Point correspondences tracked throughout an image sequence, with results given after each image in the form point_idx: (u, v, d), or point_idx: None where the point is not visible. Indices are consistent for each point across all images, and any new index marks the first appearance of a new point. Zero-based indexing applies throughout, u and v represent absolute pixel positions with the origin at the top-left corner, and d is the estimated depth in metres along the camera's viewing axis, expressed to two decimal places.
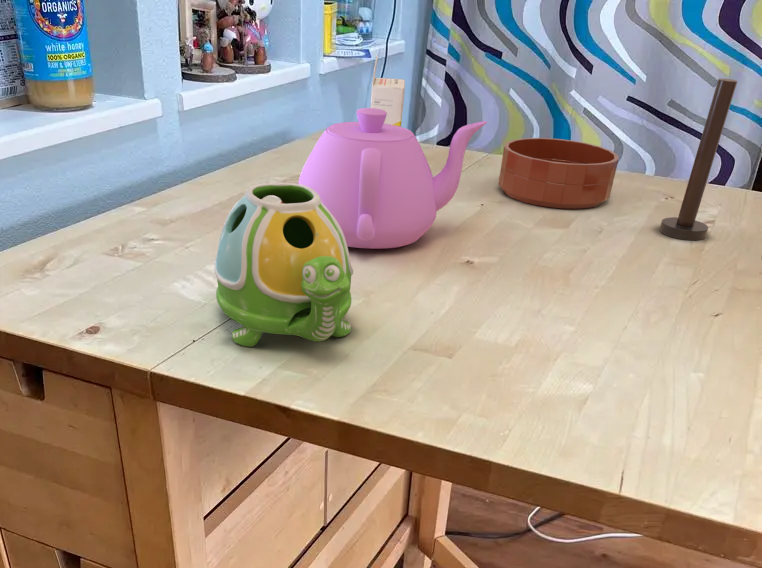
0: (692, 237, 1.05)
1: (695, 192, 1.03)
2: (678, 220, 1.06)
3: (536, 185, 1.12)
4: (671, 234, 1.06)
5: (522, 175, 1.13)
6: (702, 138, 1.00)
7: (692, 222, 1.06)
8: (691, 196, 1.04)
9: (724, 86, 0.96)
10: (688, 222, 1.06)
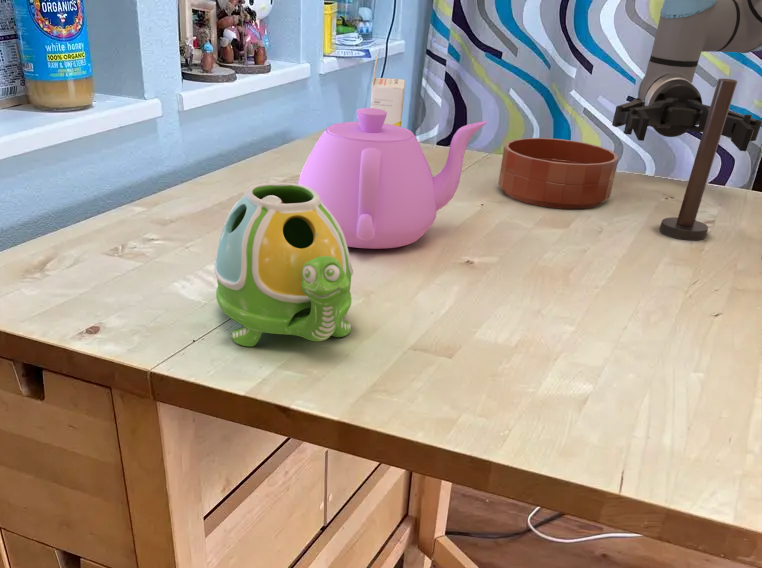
0: (692, 237, 1.05)
1: (695, 192, 1.03)
2: (678, 220, 1.06)
3: (536, 185, 1.12)
4: (671, 234, 1.06)
5: (522, 175, 1.13)
6: (702, 138, 1.00)
7: (692, 222, 1.06)
8: (691, 196, 1.04)
9: (724, 86, 0.96)
10: (688, 222, 1.06)
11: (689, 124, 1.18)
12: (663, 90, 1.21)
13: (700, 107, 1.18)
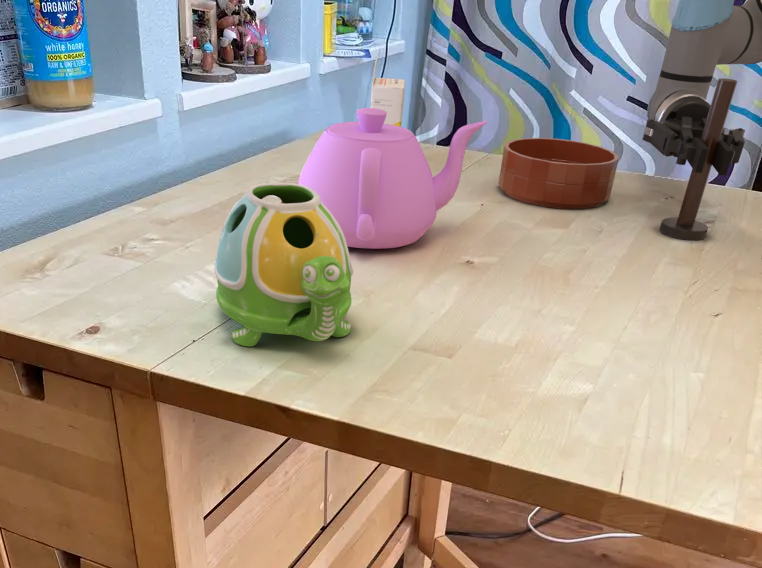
0: (692, 237, 1.05)
1: (695, 192, 1.03)
2: (678, 220, 1.06)
3: (536, 185, 1.12)
4: (671, 234, 1.06)
5: (522, 175, 1.13)
6: (702, 138, 1.00)
7: (692, 222, 1.06)
8: (691, 196, 1.04)
9: (724, 86, 0.96)
10: (688, 222, 1.06)
11: None
12: (675, 108, 1.11)
13: None
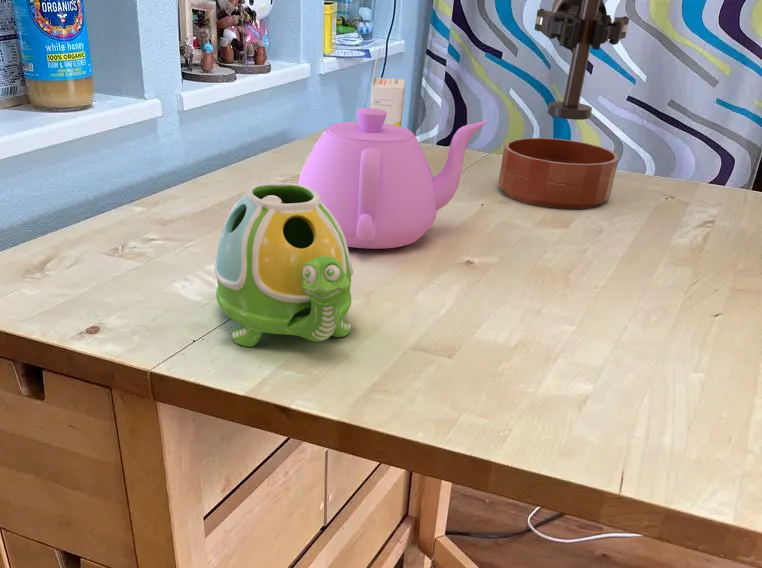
0: (575, 116, 1.10)
1: (576, 72, 1.09)
2: (563, 101, 1.12)
3: (536, 185, 1.12)
4: (556, 114, 1.11)
5: (522, 175, 1.13)
6: (580, 17, 1.06)
7: (576, 103, 1.11)
8: (573, 76, 1.09)
9: None
10: (572, 102, 1.11)
11: None
12: None
13: None
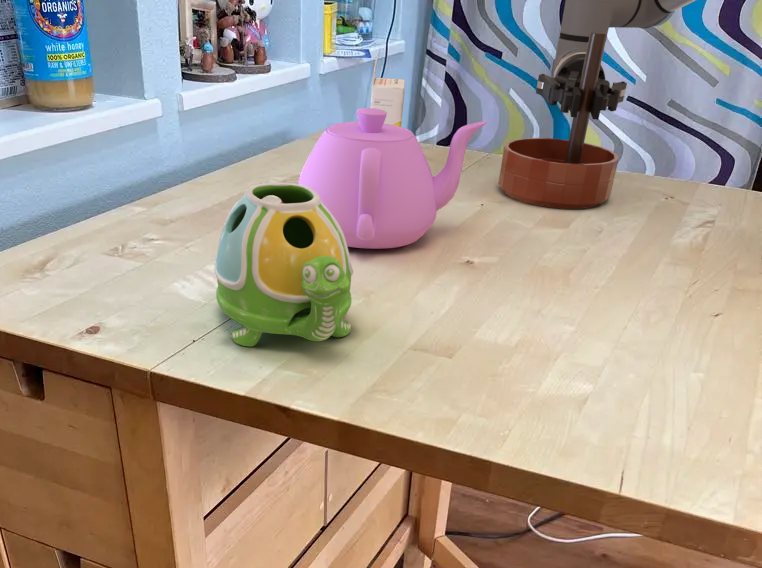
0: None
1: (576, 138, 1.14)
2: None
3: (536, 185, 1.12)
4: None
5: (522, 175, 1.13)
6: (580, 87, 1.11)
7: None
8: (573, 141, 1.14)
9: (595, 38, 1.06)
10: None
11: None
12: (566, 64, 1.22)
13: None
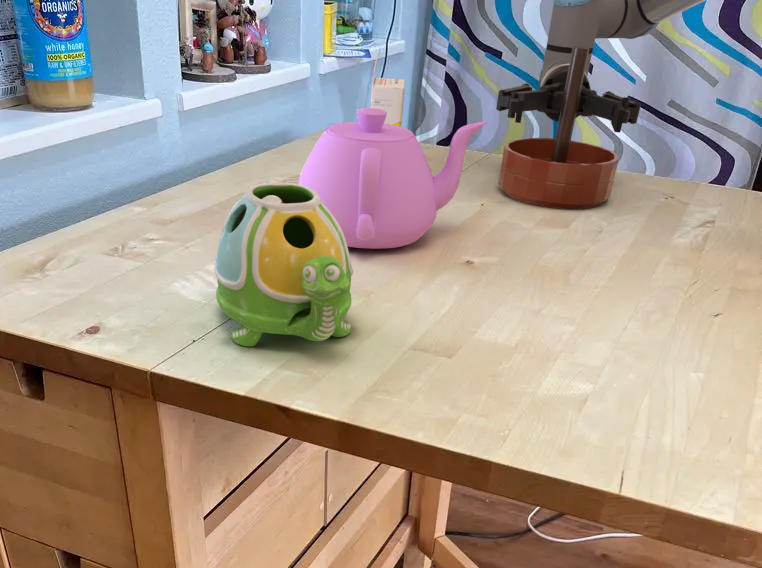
0: None
1: (560, 150, 1.15)
2: None
3: (536, 185, 1.12)
4: None
5: (522, 175, 1.13)
6: (563, 100, 1.12)
7: None
8: (557, 154, 1.15)
9: (577, 52, 1.08)
10: None
11: None
12: (551, 76, 1.23)
13: (584, 91, 1.19)
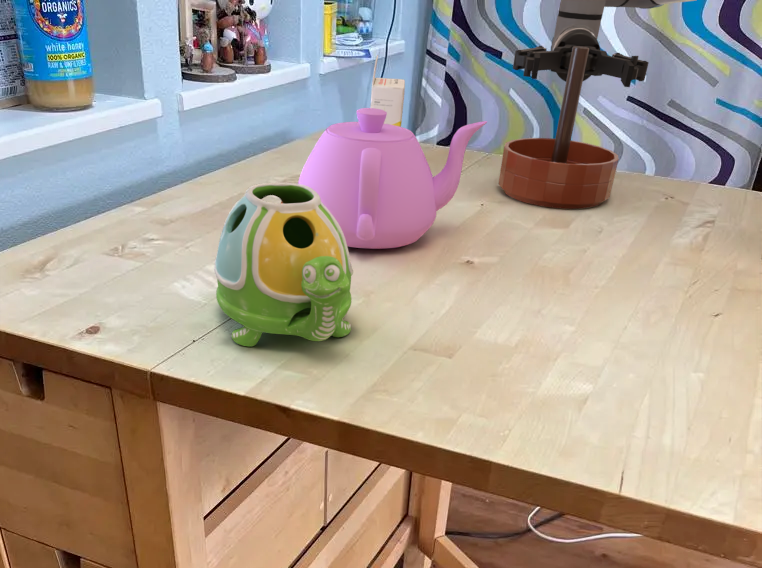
0: None
1: (560, 150, 1.15)
2: None
3: (536, 185, 1.12)
4: None
5: (522, 175, 1.13)
6: (563, 100, 1.12)
7: None
8: (557, 154, 1.15)
9: (577, 52, 1.08)
10: None
11: (586, 68, 1.28)
12: (564, 38, 1.31)
13: (595, 52, 1.27)
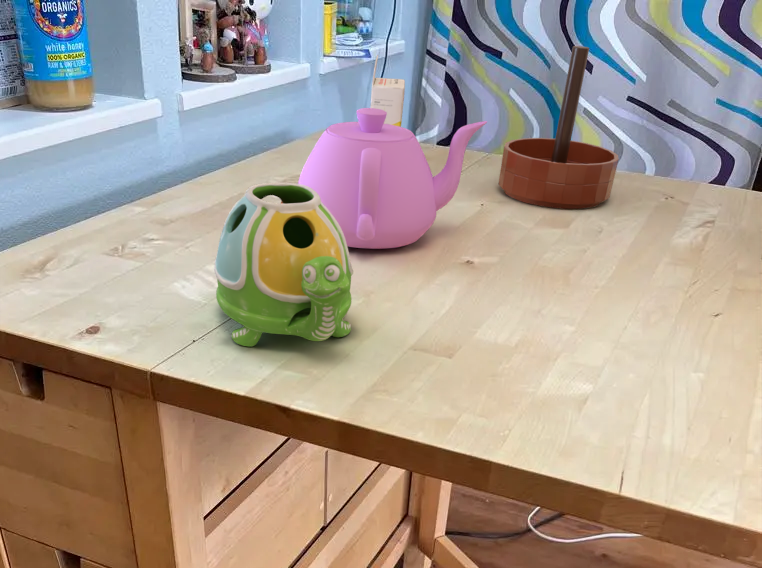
0: None
1: (560, 150, 1.15)
2: None
3: (536, 185, 1.12)
4: None
5: (522, 175, 1.13)
6: (563, 100, 1.12)
7: None
8: (557, 154, 1.15)
9: (577, 52, 1.08)
10: None
11: None
12: None
13: None
